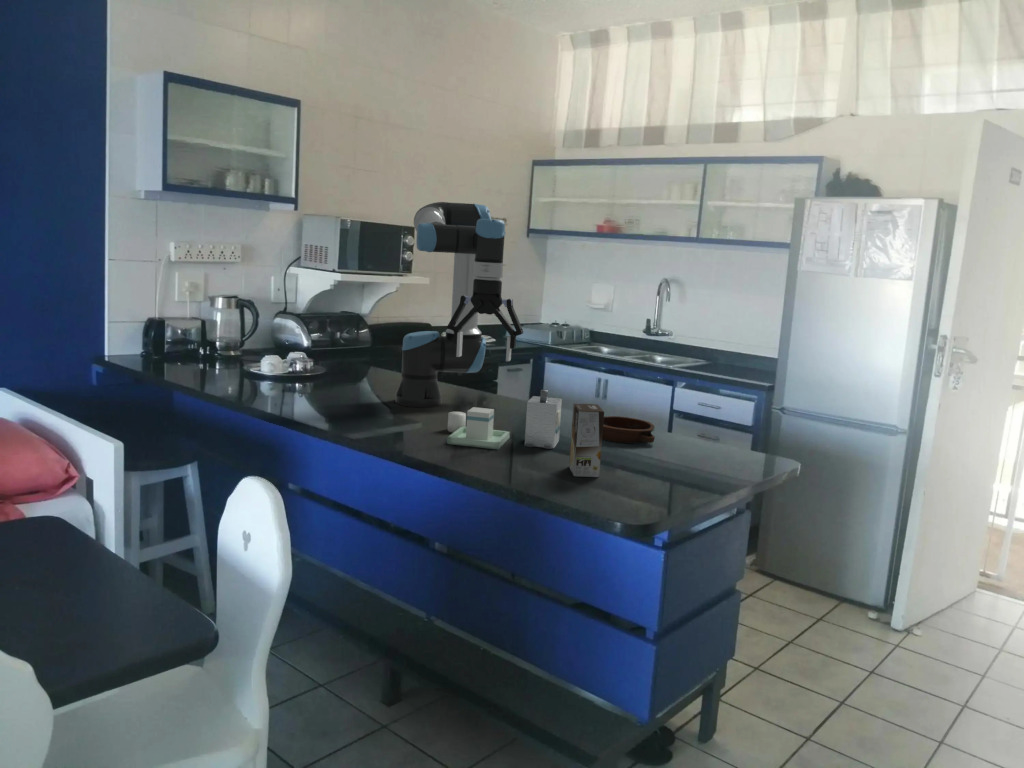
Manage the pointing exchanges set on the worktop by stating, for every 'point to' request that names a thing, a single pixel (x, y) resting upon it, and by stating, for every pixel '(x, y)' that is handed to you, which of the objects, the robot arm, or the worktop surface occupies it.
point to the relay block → (480, 424)
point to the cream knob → (456, 420)
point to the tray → (494, 443)
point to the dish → (627, 430)
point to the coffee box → (586, 440)
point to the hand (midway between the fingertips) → (483, 358)
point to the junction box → (543, 421)
